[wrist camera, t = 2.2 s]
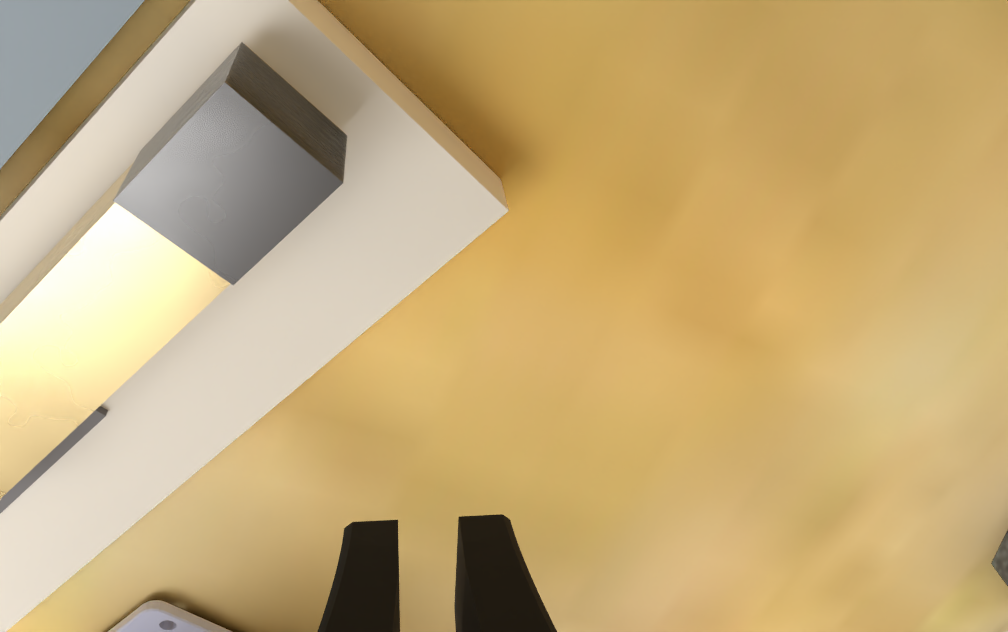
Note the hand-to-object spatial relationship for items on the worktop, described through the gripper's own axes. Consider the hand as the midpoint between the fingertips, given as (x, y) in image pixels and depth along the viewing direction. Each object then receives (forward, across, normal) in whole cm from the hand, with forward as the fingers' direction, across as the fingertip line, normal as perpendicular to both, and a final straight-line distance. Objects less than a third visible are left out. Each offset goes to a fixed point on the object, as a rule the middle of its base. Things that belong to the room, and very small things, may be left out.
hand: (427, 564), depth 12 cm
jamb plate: (+10, +8, +4) cm, 14 cm away
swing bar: (+8, +7, +1) cm, 11 cm away
